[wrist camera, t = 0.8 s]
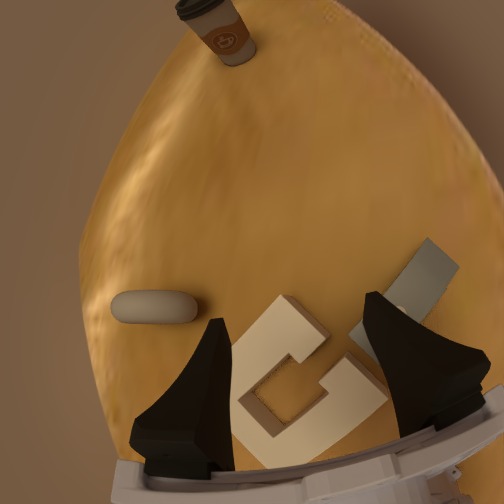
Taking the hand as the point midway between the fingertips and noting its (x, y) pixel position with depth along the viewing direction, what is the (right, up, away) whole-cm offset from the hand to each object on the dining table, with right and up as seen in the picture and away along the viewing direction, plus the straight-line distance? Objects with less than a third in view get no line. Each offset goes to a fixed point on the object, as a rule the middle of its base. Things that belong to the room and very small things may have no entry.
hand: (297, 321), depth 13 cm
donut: (-11, -4, +21) cm, 24 cm away
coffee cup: (-4, +38, +27) cm, 46 cm away
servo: (+12, -1, +11) cm, 16 cm away
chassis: (+2, -11, +13) cm, 17 cm away
